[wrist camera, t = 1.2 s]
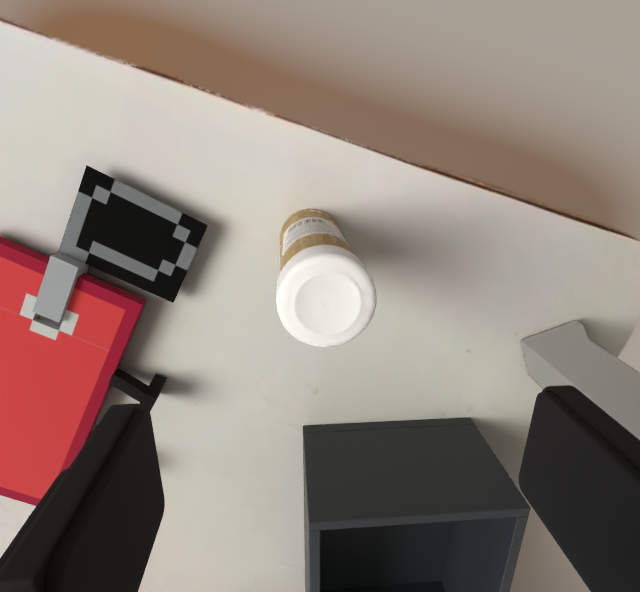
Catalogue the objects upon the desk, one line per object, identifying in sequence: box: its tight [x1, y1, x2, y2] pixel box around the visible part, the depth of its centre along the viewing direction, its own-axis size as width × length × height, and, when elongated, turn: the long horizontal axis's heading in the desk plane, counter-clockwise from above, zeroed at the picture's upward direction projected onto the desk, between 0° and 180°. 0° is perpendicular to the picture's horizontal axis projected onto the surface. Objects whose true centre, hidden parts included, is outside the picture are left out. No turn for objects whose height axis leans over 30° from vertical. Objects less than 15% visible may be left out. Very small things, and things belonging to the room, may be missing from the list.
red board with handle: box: [0, 166, 208, 506], centre depth 31 cm, size 30×3×15 cm
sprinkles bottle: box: [276, 209, 377, 347], centre depth 24 cm, size 5×5×13 cm
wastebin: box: [303, 418, 530, 592], centre depth 36 cm, size 22×16×10 cm
